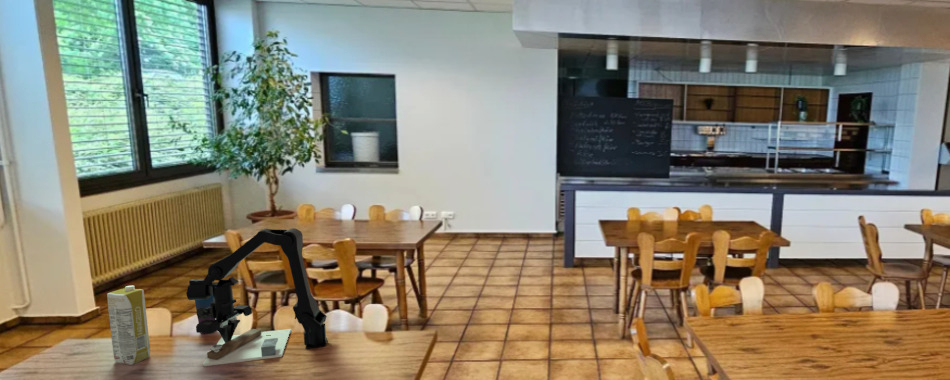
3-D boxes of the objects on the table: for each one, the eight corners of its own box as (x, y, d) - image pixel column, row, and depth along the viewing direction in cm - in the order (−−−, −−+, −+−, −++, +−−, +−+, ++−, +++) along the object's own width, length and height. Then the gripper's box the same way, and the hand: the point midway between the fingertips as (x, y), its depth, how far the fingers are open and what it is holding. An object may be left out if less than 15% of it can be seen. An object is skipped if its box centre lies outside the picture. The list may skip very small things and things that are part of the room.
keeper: (278, 346, 164) (277, 337, 163) (275, 355, 157) (274, 345, 157) (265, 348, 163) (264, 339, 162) (261, 356, 156) (261, 347, 156)
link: (217, 359, 155) (216, 353, 155) (207, 358, 156) (207, 352, 156) (261, 334, 174) (261, 329, 173) (252, 333, 175) (252, 328, 175)
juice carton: (154, 356, 161) (147, 284, 158) (131, 367, 154) (123, 292, 151) (134, 352, 164) (126, 282, 162) (110, 363, 157) (101, 289, 154)
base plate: (291, 330, 179) (290, 319, 179) (282, 356, 158) (281, 343, 157) (222, 338, 174) (221, 326, 174) (203, 366, 153) (202, 353, 152)
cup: (209, 335, 177) (205, 295, 175) (192, 334, 178) (189, 294, 177) (222, 328, 184) (219, 289, 182) (206, 327, 185) (203, 288, 183)
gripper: (225, 288, 175) (229, 330, 176) (180, 306, 157) (185, 353, 159) (251, 290, 171) (255, 333, 173) (208, 308, 154) (212, 356, 155)
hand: (227, 343), depth 165 cm, fingers closed
